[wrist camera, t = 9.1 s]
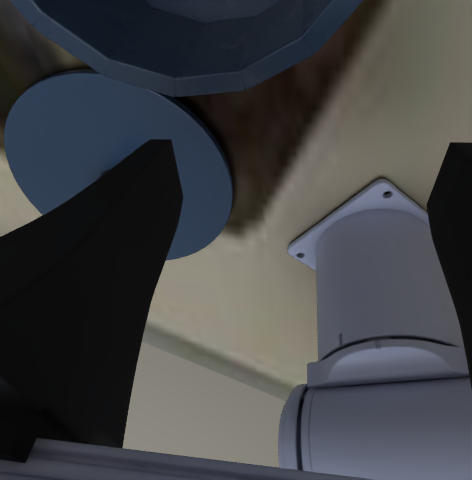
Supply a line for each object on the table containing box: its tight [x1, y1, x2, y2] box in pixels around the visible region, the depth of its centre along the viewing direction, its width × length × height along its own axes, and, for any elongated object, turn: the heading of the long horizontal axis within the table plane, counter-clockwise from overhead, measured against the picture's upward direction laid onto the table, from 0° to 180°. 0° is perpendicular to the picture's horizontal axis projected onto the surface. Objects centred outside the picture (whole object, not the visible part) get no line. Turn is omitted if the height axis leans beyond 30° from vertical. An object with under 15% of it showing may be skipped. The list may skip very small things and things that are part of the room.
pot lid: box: [4, 69, 233, 260], centre depth 22 cm, size 13×13×5 cm
